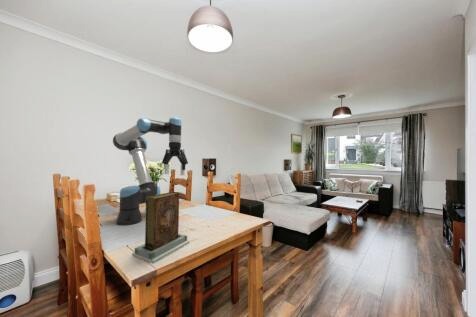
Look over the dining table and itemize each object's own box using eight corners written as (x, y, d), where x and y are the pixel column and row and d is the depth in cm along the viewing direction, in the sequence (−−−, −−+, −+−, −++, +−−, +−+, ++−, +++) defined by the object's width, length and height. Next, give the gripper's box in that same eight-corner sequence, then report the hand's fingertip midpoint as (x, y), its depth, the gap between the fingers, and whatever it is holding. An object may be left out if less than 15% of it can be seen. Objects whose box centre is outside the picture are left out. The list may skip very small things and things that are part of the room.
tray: (132, 254, 88) (132, 247, 88) (169, 237, 108) (169, 231, 108) (154, 263, 82) (154, 255, 82) (189, 242, 101) (189, 236, 101)
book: (171, 239, 103) (172, 191, 103) (179, 241, 101) (180, 192, 101) (144, 252, 89) (145, 197, 89) (153, 255, 86) (154, 198, 86)
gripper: (156, 141, 130) (156, 173, 130) (185, 141, 119) (185, 176, 119) (165, 142, 136) (165, 173, 137) (193, 142, 125) (193, 175, 125)
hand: (174, 174), depth 128 cm, fingers open, 13 cm apart
